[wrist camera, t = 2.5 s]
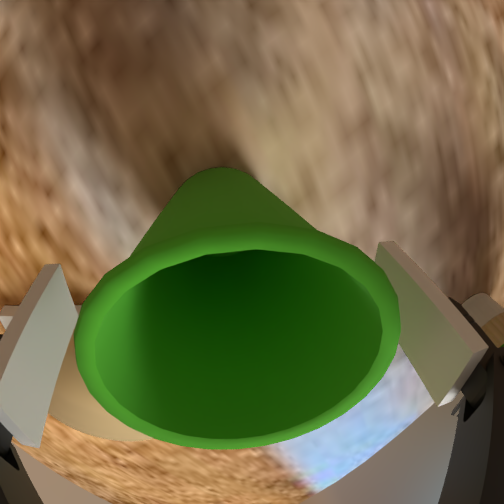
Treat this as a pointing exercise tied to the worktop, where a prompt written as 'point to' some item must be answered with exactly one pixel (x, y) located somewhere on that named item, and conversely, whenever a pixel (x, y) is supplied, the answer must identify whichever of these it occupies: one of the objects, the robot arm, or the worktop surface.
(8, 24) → the worktop surface
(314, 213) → the worktop surface
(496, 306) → the coffee cup
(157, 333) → the cup
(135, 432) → the domed square tile
